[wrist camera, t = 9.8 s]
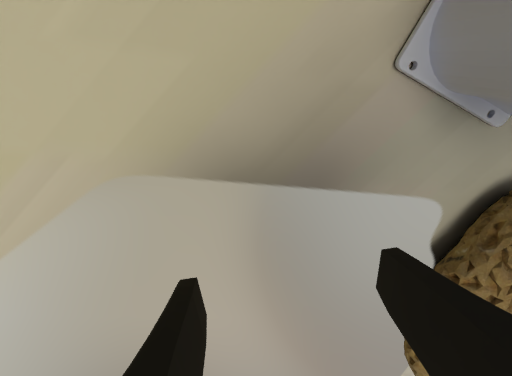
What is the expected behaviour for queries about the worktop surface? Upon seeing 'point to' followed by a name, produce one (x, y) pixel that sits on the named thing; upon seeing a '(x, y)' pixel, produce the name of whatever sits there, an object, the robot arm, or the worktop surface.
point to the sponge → (480, 263)
